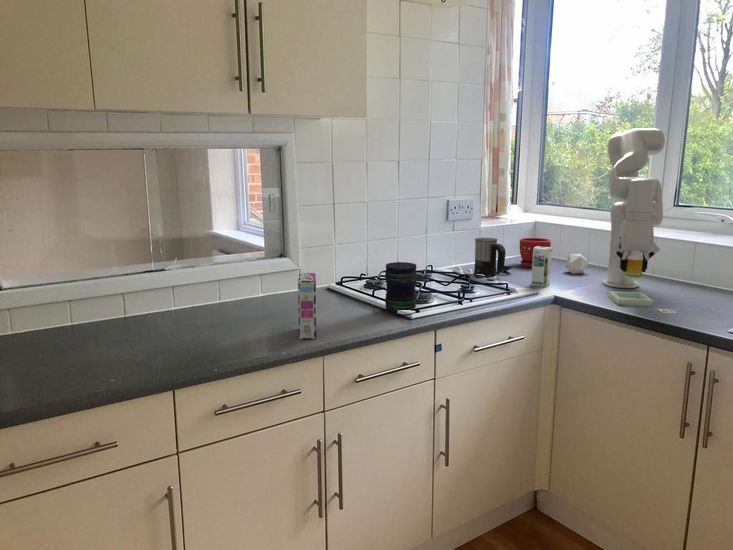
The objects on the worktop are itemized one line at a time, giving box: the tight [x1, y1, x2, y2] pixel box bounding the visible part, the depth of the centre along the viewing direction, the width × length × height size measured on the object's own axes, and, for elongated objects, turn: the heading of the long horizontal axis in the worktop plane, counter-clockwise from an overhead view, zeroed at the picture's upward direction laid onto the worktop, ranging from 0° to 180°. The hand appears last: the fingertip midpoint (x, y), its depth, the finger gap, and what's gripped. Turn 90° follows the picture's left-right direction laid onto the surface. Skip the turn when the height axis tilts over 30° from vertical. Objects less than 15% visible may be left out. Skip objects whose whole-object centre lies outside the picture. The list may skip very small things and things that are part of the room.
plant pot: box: [519, 237, 552, 268], centre depth 251 cm, size 13×13×12 cm
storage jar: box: [384, 261, 418, 316], centre depth 181 cm, size 10×10×15 cm
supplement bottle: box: [624, 251, 643, 280], centre depth 190 cm, size 5×5×10 cm
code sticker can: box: [657, 308, 677, 314], centre depth 181 cm, size 4×4×1 cm
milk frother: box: [473, 237, 515, 277], centre depth 235 cm, size 14×16×15 cm
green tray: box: [607, 291, 654, 307], centre depth 193 cm, size 11×11×2 cm
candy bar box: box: [297, 272, 318, 341], centre depth 159 cm, size 11×5×16 cm, turn 5°
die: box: [564, 253, 589, 275], centre depth 237 cm, size 8×9×10 cm
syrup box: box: [530, 246, 553, 288], centre depth 215 cm, size 6×6×14 cm
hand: (633, 270), depth 191 cm, fingers closed on supplement bottle, 5 cm apart
